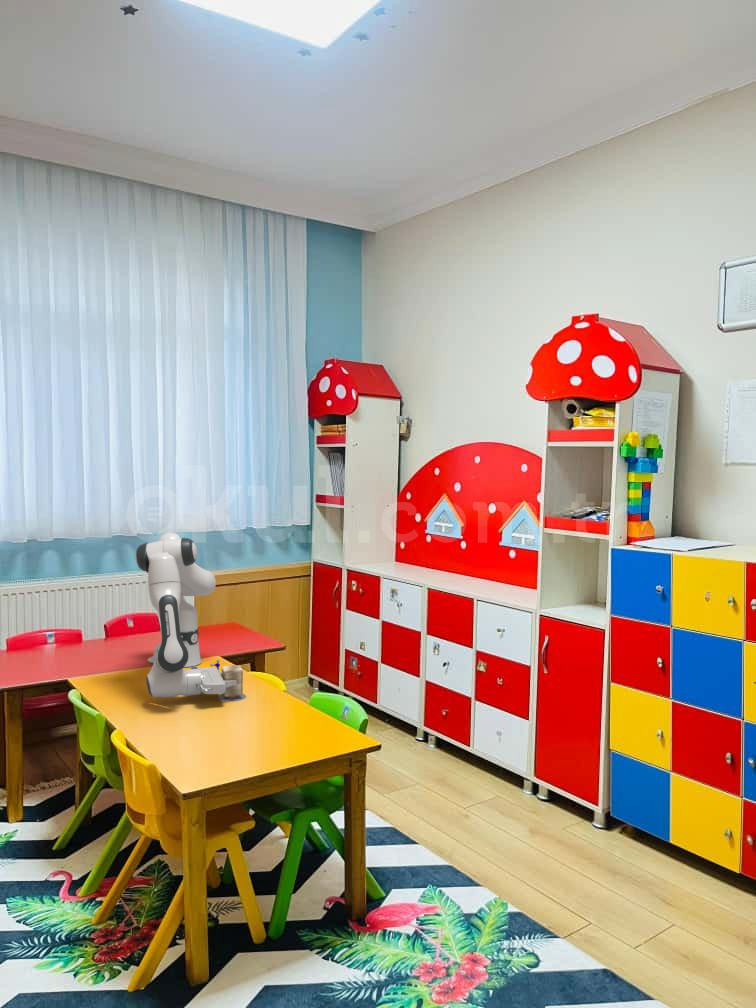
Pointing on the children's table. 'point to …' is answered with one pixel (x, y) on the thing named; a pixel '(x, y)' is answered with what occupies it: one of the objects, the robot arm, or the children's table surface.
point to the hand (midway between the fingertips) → (234, 679)
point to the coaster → (238, 698)
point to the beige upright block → (231, 674)
